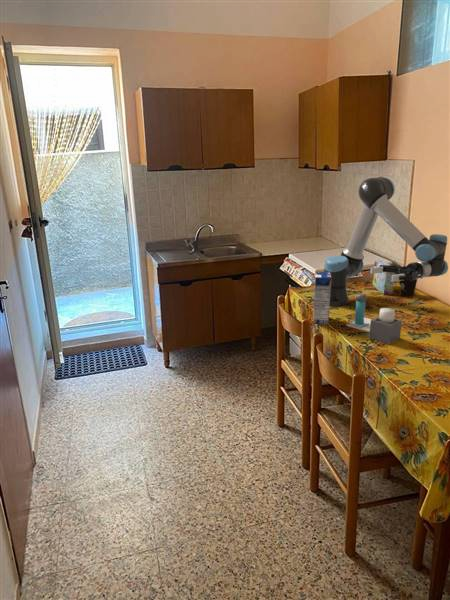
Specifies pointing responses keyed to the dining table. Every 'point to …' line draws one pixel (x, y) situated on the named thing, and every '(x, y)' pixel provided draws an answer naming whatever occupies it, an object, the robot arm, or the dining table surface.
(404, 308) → the dining table surface
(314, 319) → the beverage box
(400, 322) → the button console
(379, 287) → the snack box
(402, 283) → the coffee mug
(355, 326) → the white sorting board
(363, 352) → the dining table surface
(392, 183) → the robot arm
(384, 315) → the button
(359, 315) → the marker
